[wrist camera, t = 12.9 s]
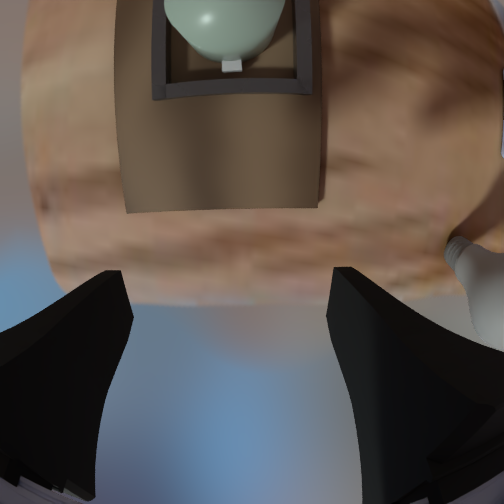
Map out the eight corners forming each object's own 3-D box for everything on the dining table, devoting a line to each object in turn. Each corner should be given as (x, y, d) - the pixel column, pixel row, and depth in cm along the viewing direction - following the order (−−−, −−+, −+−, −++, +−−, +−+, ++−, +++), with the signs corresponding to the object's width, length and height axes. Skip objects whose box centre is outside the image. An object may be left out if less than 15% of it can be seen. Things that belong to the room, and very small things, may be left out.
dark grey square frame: (303, -26, 10) (307, -35, 9) (307, 95, 14) (312, 94, 13) (160, -20, 10) (155, -27, 9) (158, 100, 14) (152, 100, 13)
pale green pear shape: (277, 71, 14) (290, 54, 9) (189, 77, 14) (165, 63, 9) (271, -16, 11) (280, -56, 6) (186, -10, 11) (165, -47, 6)
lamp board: (313, -30, 11) (315, -34, 10) (315, 205, 18) (317, 208, 17) (122, -16, 11) (119, -19, 10) (129, 210, 18) (126, 213, 17)
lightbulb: (463, 195, 17) (566, 264, 8) (482, 247, 20) (560, 321, 10) (410, 243, 19) (498, 343, 10) (435, 290, 21) (501, 382, 12)
